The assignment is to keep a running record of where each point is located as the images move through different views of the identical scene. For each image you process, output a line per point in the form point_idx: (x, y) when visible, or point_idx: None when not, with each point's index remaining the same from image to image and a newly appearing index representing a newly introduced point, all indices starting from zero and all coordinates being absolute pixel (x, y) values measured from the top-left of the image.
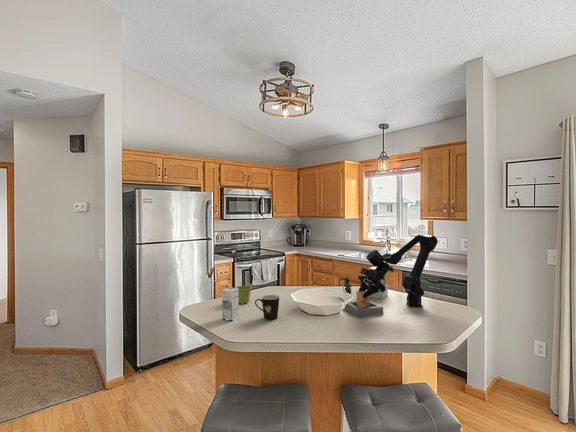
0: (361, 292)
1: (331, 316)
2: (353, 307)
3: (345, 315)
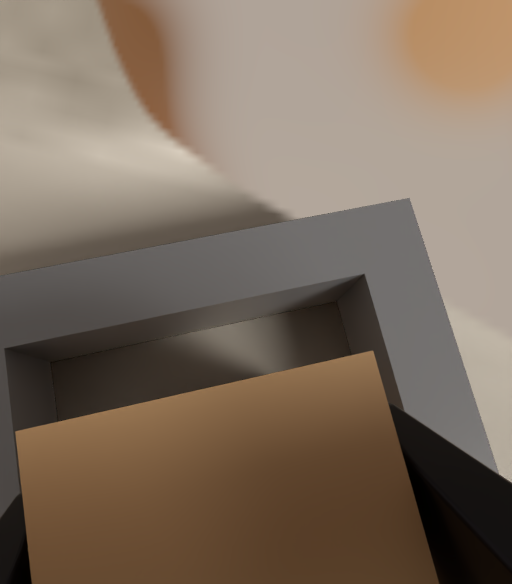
0: (191, 493)
1: (80, 18)
2: (79, 261)
3: (85, 178)
